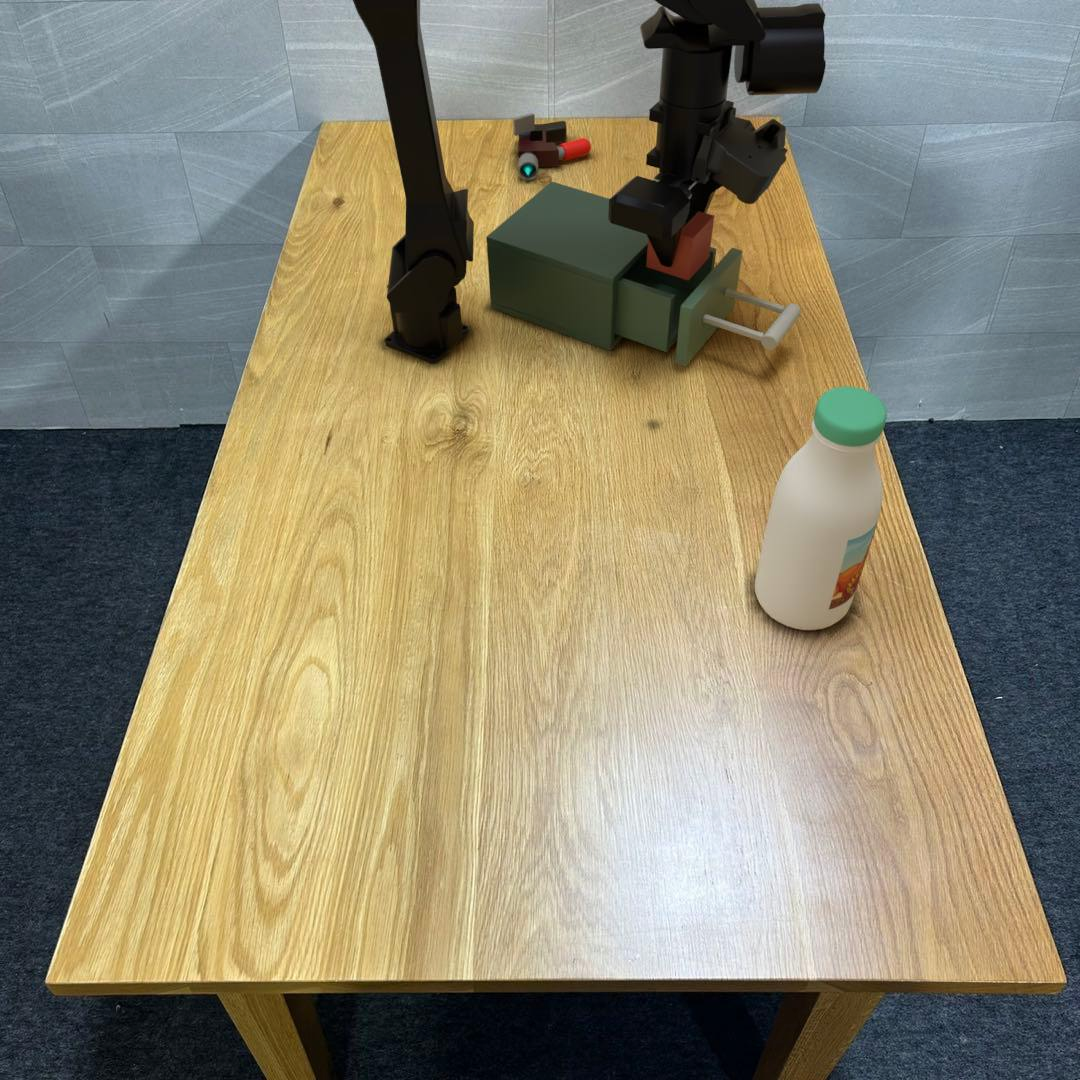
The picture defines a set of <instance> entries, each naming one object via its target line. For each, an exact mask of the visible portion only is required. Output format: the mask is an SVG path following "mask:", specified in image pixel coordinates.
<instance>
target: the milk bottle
mask: <svg viewBox="0 0 1080 1080" xmlns="http://www.w3.org/2000/svg"><path fill="white" fill-rule="evenodd" d="M887 417H888V412H887V407H886V405H885V403H884V402H883V401H882V399H881V398H880V397H879V396H878V395H876V394H875V393H873V392H871V391H870V390H867V389H866V388H865V389H864V388H862V387H857V386H849V385H848V386H847V385H845V386H844V385H843V386H836V387H833V388H830V389H828V390H826V391H825V392H824V393H822V394H821V395H820V397H819V399H818V400H817V402H816V405H815V408H814V414H813V419H812V424H811V430H812V434H811V435H810V437H809V439H808V440H807V441H806V443H804V444H803V445H802V446H801V448H800V449H798V451H796V452H795V454H794V455H793V456H792V457H790V459H789V460H788V462H787V463H786V464H785V466H784V468H783V470H782V471H781V473H780V476H779V478H778V480H777V482H776V486H775V489H774V493H773V496H772V501H771V505H770V509H769V513H768V517H767V522H766V526H765V530H764V536H763V540H762V546H761V550H760V556H759V558H758V564H757V569H756V574H755V580H754V592H755V596H756V598H757V600H758V603H759V605H760V606H761V608H762V609H763V611H764V612H765V613H766V614H767V615H768V616H769V617H770V618H772V619H774V620H775V621H776V622H777V623H780V624H782V625H784V626H786V627H788V628H792V629H795V630H802V631H816V630H823V629H826V628H829V627H831V626H833V625H834V624H836V623H838V622H839V621H841V620H842V619H843V618H844V617H845V616H846V615H847V613H848V612H849V610H850V608H851V606H852V603H853V600H854V597H855V595H856V592H857V589H858V586H859V583H860V579H861V577H862V573H863V570H864V568H865V564H866V561H867V558H868V555H869V552H870V549H871V546H872V543H873V539H874V537H875V532H876V530H877V526H878V523H879V518H880V515H881V512H882V511H881V510H882V505H883V500H884V499H883V496H884V495H883V494H884V493H883V492H884V491H883V489H884V488H883V479H882V475H881V471H880V468H879V465H878V463H877V457H876V446H877V445H878V444H879V443H880V441H881V439H882V433H883V431H884V429H885V426H886V422H887Z"/></svg>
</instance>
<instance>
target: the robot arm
mask: <svg viewBox="0 0 1080 1080" xmlns="http://www.w3.org/2000/svg"><path fill="white" fill-rule="evenodd" d="M654 1H655V2H656V3H657V4H659V5H661V6H659V7H658V8H657V10H656V12H655V13H654V14H653V15H651V16H650V17H649V18H647V19H646V20H645V21H644V22H643V23H641V24H640V27H639V28H640V33H641V37H642V38H641V39H642V43H643V47H644V48H645V49H647V50H654V49H656V50H657V49H662V56H661V68H660V69H661V71H660V85H659V86H660V87H659V97H658V98H659V99H658V101H657V102H656V103H655V104H654V105H653V106H652V107H651V108H649V113H648V114H649V115H648V121H649V122H653V123H657V125H656V139H655V146H654V147H653V148H652V149H650V151H649V152H647V153H646V160H645V161H646V162H645V165H646V166H649V167H651V168H656V169H658V173H657V174H656V175H655V176H653V179H650V178H647V177H644V176H640V175H636V176H634V177H633V178H632V179H630V180H628V181H627V182H626V183H625V184H624V185H623V186H622V187H621V188H620V189H618V191H616V192H615V193H614V194H613V195H612V196H610V198H609V213H608V219H609V221H610V223H612V224H615V225H618V226H621V227H625V228H628V229H631V230H634V231H638V232H641V233H644V234H647V236H648V238H649V241H650V243H651V245H652V247H653V249H654V251H655V253H656V255H657V258H658V260H659V262H660V264H661V265H663V266H666V267H671V266H672V265H673V261H674V258H675V255H676V251H677V247H678V243H679V239H680V235H681V231H682V228H683V227H685V226H686V225H687V224H688V223H689V222H690V221H691V220H692V219H693V218H694V217H695V216H696V215H697V214H698V213H699V211H700V212H704V213H707V214H708V210H709V208H710V205H711V203H712V202H713V198H714V196H715V194H716V192H717V190H719V189H721V188H722V187H723V188H725V189H726V190H728V191H729V192H731V193H732V194H733V195H734V196H736V198H737V200H739V201H740V202H742V203H744V204H745V205H746V204H747V205H752V204H756V202H757V201H759V198H760V197H761V196H762V195H763V194H764V193H765V192H766V190H768V189H769V188H770V186H771V185H772V182H773V180H774V179H775V178H776V176H777V175H778V172H779V171H780V169H781V168H782V166H783V165H784V164H785V163H786V162H787V155H786V154H787V153H788V148H786V147H785V146H786V132H787V131H786V130H787V128H786V126H785V125H784V124H782V123H781V122H779V121H777V120H776V119H775V118H772V119H770V120H769V121H767V122H765V123H763V124H762V125H760V126H759V127H758V128H757V129H756V127H755V126H754V124H753V123H752V121H751V120H749V119H745V118H741V117H737V116H736V113H737V108H736V107H735V106H734V105H735V102H734V101H731V100H727V96H728V87H729V79H730V72H731V64H732V63H731V62H732V54H733V47H734V48H735V49H734V61H733V67H734V68H733V69H734V79H735V83H738V84H743V83H745V89H746V92H747V94H748V95H749V96H769V95H803V94H818V92H819V90H820V89H821V86H822V84H823V80H824V76H825V71H826V66H827V61H826V59H825V49H826V44H825V43H826V42H825V41H826V40H825V28H824V26H825V21H826V13H825V11H824V8H823V7H822V6H821V4H820V3H819V2H817V3H816V2H815V3H803V4H800V5H795V6H772V7H771V6H769V7H768V6H766V7H765V6H764V7H758V5H757V2H756V0H654ZM352 2H353V4H354V7H355V11H356V12H357V15H358V16H359V19H360V20H361V22H362V23H363V25H364V28H365V29H366V30H367V32H368V34H369V36H370V38H371V40H372V42H373V45H374V48H375V54H376V58H377V64H378V69H379V73H380V78H381V83H382V88H383V92H384V98H385V102H386V108H387V112H388V117H389V122H390V127H391V133H392V136H393V137H392V138H393V141H394V142H393V143H394V147H395V152H396V157H397V161H398V167H399V171H400V176H401V181H402V186H403V191H404V196H405V229H404V230H405V233H404V235H403V236H402V237H401V238H400V239H399V240H398V241H397V242H396V243H395V244H394V245H393V246H392V247H391V256H390V257H391V258H390V265H389V275H388V281H387V285H386V299H387V301H388V302H389V310H390V317H391V323H392V329H393V331H391V333H389V334H388V335H387V336H386V337H385V338H384V344H385V346H387V347H389V348H393V349H395V350H398V351H400V352H403V353H404V354H407V355H410V356H412V357H415V358H417V359H420V360H423V361H426V362H428V363H430V364H435V363H437V362H439V361H440V360H441V359H442V358H443V357H444V356H445V355H446V354H447V353H448V352H449V351H450V350H451V349H453V348H454V347H455V346H456V345H457V344H458V343H459V342H460V341H461V340H462V339H464V338H465V336H467V335H468V333H470V327H469V325H466V324H464V323H463V322H462V321H463V320H462V319H463V318H462V309H461V303H458V297H457V288H456V287H457V286H458V285H459V284H460V283H461V282H462V281H463V280H465V278H466V275H467V265H468V263H467V262H470V263H471V262H473V261H474V235H475V234H474V233H475V232H474V231H475V222H474V220H473V219H472V217H471V215H470V212H469V208H468V205H469V204H468V202H469V189H468V188H463V189H460V190H457V191H455V190H454V189H453V187H452V185H451V184H450V182H449V180H448V178H447V174H446V170H445V163H444V158H443V153H442V146H441V139H440V135H439V134H440V133H439V128H438V122H437V116H436V111H435V105H434V97H433V92H432V87H431V81H430V74H429V69H428V62H427V57H426V51H425V46H424V45H425V44H424V40H423V34H422V28H421V0H352ZM668 10H669V11H671V12H672V13H674V14H676V16H675V15H673V14H671V13H670V12H669V11H668Z"/></svg>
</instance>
